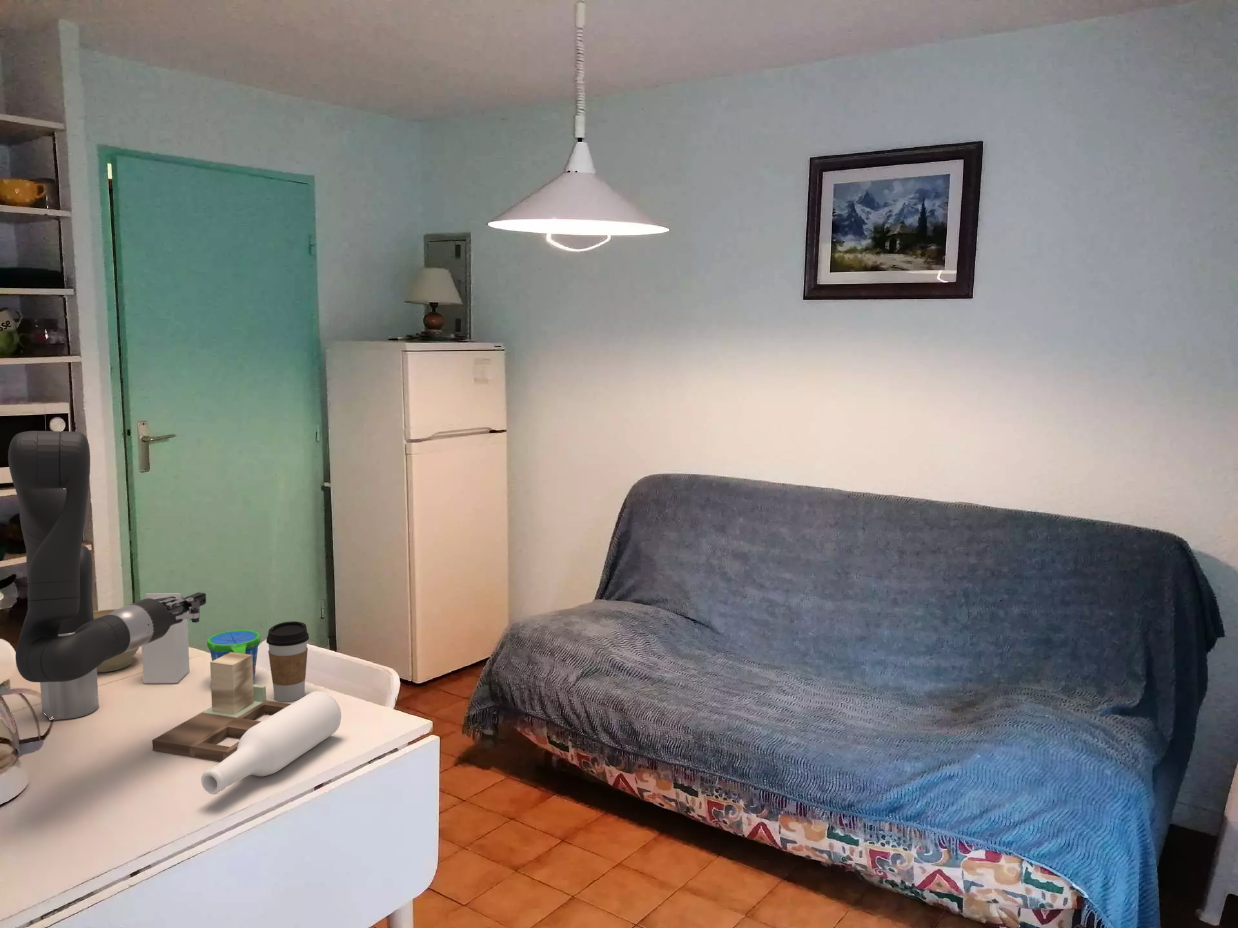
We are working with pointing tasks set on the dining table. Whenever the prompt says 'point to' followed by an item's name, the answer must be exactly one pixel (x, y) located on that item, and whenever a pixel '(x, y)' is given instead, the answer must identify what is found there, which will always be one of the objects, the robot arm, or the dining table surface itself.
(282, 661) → the coffee cup
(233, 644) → the snack cup
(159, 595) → the milk carton
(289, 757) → the alcohol
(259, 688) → the green l-shaped block
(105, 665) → the planter bowl
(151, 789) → the dining table surface
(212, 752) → the brown wooden flat frame
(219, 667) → the maple block
